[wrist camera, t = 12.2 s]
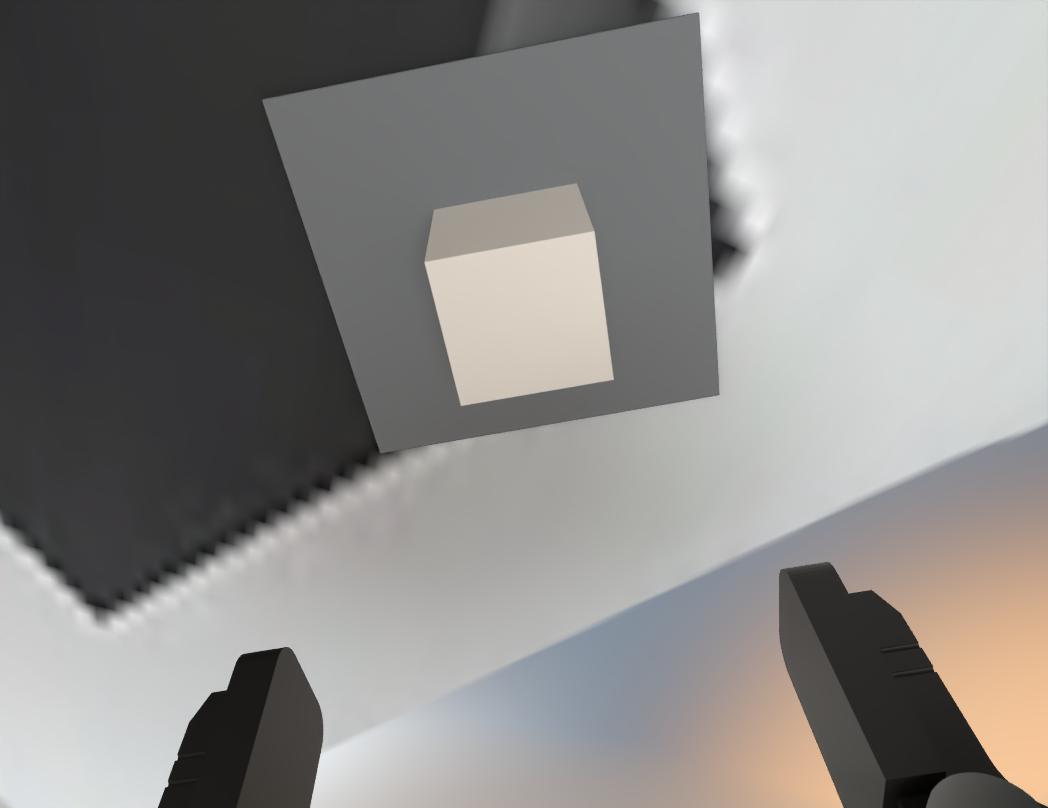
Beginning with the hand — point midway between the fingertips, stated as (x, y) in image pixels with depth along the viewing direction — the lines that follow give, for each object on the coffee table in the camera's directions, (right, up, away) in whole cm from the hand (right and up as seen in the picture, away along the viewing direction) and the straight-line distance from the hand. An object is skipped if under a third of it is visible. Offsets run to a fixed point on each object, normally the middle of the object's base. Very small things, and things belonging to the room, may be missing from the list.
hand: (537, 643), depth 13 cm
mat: (-1, +9, +15) cm, 18 cm away
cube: (0, +9, +15) cm, 18 cm away
